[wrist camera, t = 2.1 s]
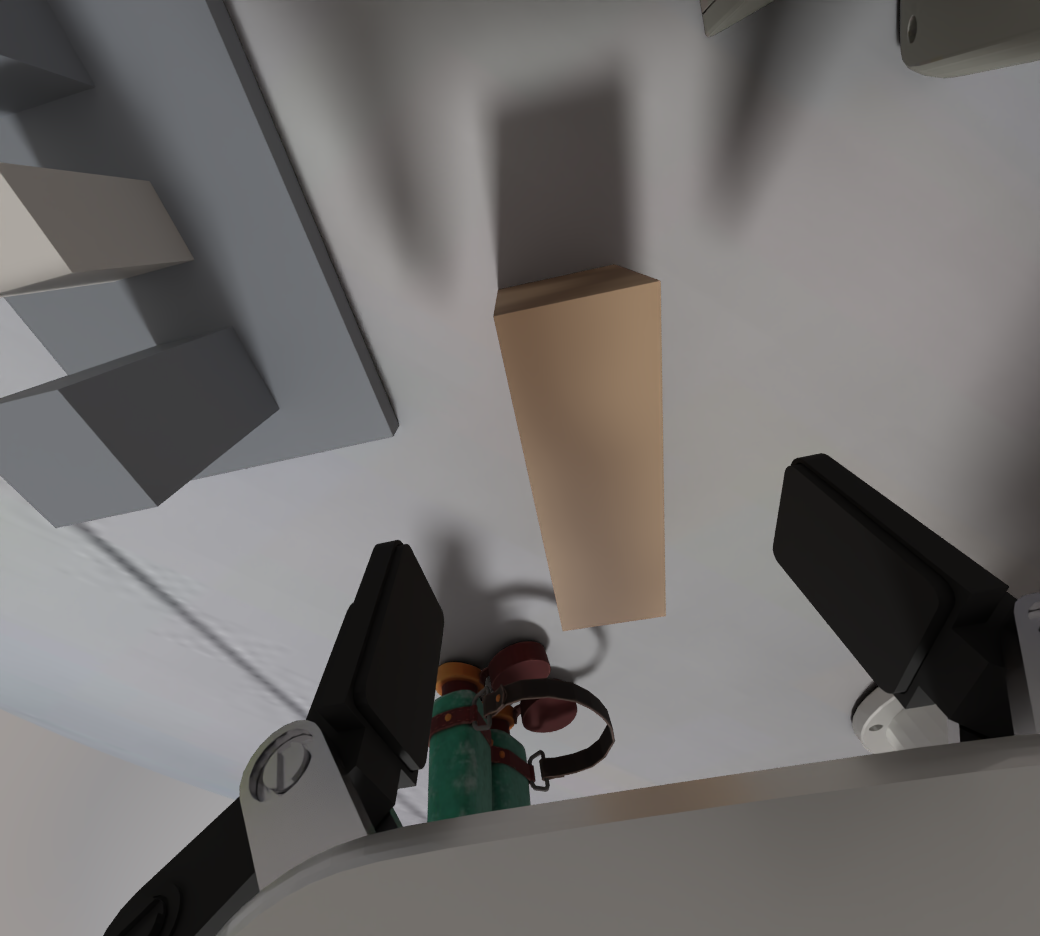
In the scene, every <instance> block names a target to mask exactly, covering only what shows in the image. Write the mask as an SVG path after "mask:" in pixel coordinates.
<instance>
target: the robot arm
mask: <svg viewBox="0 0 1040 936" xmlns="http://www.w3.org/2000/svg"><path fill="white" fill-rule="evenodd" d="M773 553H774V556H775V558H776V560H777V562H778V563H779V564H780V566H781V567H782V568H783V569H784V571H785V572H786V573H787V574H788V575H789V577H790V578H791V579H792V580H793V582H794V583H795V584H796V585H797V587H798V588H799V589H800V590H801V591H802V593H803V594H804V595H805V596H806V598H807V599H808V600H809V601H810V603H811V604H812V605H813V606H814V608H815V609H816V610H817V611H818V612H819V614H820V615H821V616H822V617H823V619H824V620H825V621H826V622H827V624H828V625H829V626H830V627H831V628H832V630H833V631H834V632H835V633H836V635H837V636H838V637H839V638H840V640H841V641H842V642H843V643H844V645H845V646H846V647H847V648H848V649H849V651H850V652H851V653H852V654H853V656H854V657H855V658H856V659H857V661H858V662H859V663H860V664H861V665H862V667H863V668H864V669H865V670H866V672H867V673H868V674H869V675H870V677H871V678H872V679H873V680H874V682H875V683H876V684H877V685H878V686H879V687H877V688H876V689H875V690H874V691H873V692H871V693H870V694H869V695H868V696H867V697H866V698H865V699H864V700H863V701H862V703H861V704H860V705H859V706H858V708H857V710H856V712H855V714H854V716H853V723H852V727H853V730H854V733H855V734H856V736H857V737H858V739H859V740H860V741H861V743H862V744H863V746H864V747H865V749H867V750H868V751H870V752H871V753H872V754H871V755H864V756H857V757H850V758H843V759H836V760H829V761H822V762H815V763H808V764H802V765H795V766H788V767H781V768H774V769H767V770H761V771H754V772H747V773H740V774H734V775H727V776H720V777H714V778H707V779H700V780H693V781H687V782H680V783H673V784H667V785H660V786H653V787H647V788H640V789H634V790H627V791H620V792H614V793H607V794H601V795H594V796H588V797H581V798H575V799H568V800H562V801H555V802H549V803H542V804H536V805H530V806H523V807H517V808H510V809H504V810H497V811H491V812H484V813H479V814H473V815H467V816H462V817H456V818H450V819H445V820H439V821H433V822H427V823H422V824H416V825H410V826H405V827H403V826H402V824H401V822H400V820H399V818H398V816H397V814H396V813H395V811H394V809H393V806H394V805H395V801H396V796H397V790H398V789H400V788H406V787H412V786H416V783H417V776H418V769H422V768H423V767H424V766H425V763H426V759H427V752H428V744H429V736H430V728H431V721H432V713H433V705H434V697H435V690H436V682H437V674H438V667H439V659H440V651H441V643H442V636H443V628H444V616H443V612H442V609H441V607H440V605H439V603H438V601H437V599H436V597H435V595H434V593H433V591H432V589H431V587H430V585H429V583H428V581H427V579H426V577H425V575H424V573H423V571H422V569H421V567H420V565H419V563H418V561H417V559H416V557H415V555H414V553H413V551H412V549H411V547H410V546H409V545H408V544H404V545H403V543H402V542H401V541H400V540H395V541H390V542H385V543H381V544H377V545H375V547H374V549H373V552H372V554H371V557H370V560H369V562H368V565H367V568H366V571H365V573H364V576H363V579H362V581H361V584H360V587H359V589H358V592H357V595H356V598H355V600H354V602H353V603H352V604H351V605H350V607H349V609H348V610H347V613H346V615H345V618H344V621H343V623H342V626H341V629H340V631H339V634H338V636H337V639H336V642H335V644H334V647H333V650H332V652H331V655H330V658H329V660H328V663H327V666H326V668H325V671H324V673H323V676H322V679H321V681H320V684H319V687H318V689H317V692H316V695H315V697H314V700H313V702H312V705H311V708H310V710H309V713H308V716H307V718H306V720H299V721H294V722H292V723H289V724H287V725H284V726H283V727H281V728H280V729H278V730H277V731H275V732H274V733H272V734H271V735H270V736H269V737H268V738H267V739H266V740H265V741H264V742H263V743H262V744H261V745H260V746H259V748H258V749H257V750H256V752H255V753H254V754H253V756H252V757H251V759H250V761H249V763H248V765H247V766H246V768H245V770H244V772H243V776H242V779H241V783H240V796H239V797H238V798H237V799H236V800H235V801H234V802H233V803H232V804H231V805H230V806H229V807H228V808H227V809H226V810H224V811H223V812H222V813H221V814H220V815H219V816H218V817H217V818H216V819H215V820H214V821H213V822H212V823H211V824H210V825H208V826H207V827H206V828H205V829H204V830H203V831H202V832H201V833H200V834H199V835H198V836H197V837H196V838H195V839H193V840H192V841H191V842H190V843H189V844H188V845H187V846H186V847H185V848H184V849H183V850H182V851H181V852H180V853H178V854H177V855H176V856H175V857H174V858H173V859H172V860H171V861H170V862H169V863H168V864H167V865H166V866H165V867H164V868H162V869H161V870H160V871H159V872H158V873H157V874H156V875H155V876H154V877H153V878H152V879H151V880H150V881H148V882H147V883H146V884H145V885H144V886H143V887H142V888H141V889H140V890H139V891H138V892H137V893H136V894H135V895H134V896H133V897H132V898H131V899H130V900H129V901H128V903H127V904H126V905H125V906H124V907H123V908H122V909H121V910H120V912H119V913H118V915H117V916H116V917H115V919H114V920H113V921H112V923H111V924H110V925H109V927H108V928H107V930H106V932H105V933H104V935H103V936H1040V593H1032V594H1029V595H1025V596H1022V597H1021V598H1020V599H1019V600H1017V599H1016V598H1015V597H1013V596H1012V595H1010V594H1009V593H1008V592H1006V591H1007V590H1008V588H1009V586H1008V585H1006V584H1005V583H1004V582H1002V581H1001V580H999V579H998V578H997V577H995V576H994V575H992V574H991V573H990V572H988V571H987V570H986V569H984V568H983V567H981V566H980V565H979V564H977V563H976V562H975V561H973V560H972V559H970V558H969V557H968V556H966V555H965V554H963V553H962V552H961V551H959V550H958V549H957V548H955V547H954V546H952V545H951V544H950V543H948V542H947V541H946V540H944V539H943V538H941V537H940V536H939V535H937V534H936V533H934V532H933V531H932V530H930V529H929V528H928V527H926V526H925V525H923V524H922V523H921V522H919V521H918V520H917V519H915V518H914V517H912V516H911V515H910V514H908V513H907V512H905V511H904V510H903V509H901V508H900V507H899V506H897V505H896V504H894V503H893V502H892V501H890V500H889V499H888V498H886V497H885V496H883V495H882V494H881V493H879V492H878V491H876V490H875V489H874V488H872V487H871V486H870V485H868V484H867V483H865V482H864V481H863V480H861V479H860V478H858V477H857V476H856V475H854V474H853V473H852V472H850V471H849V470H847V469H846V468H845V467H843V466H842V465H841V464H839V463H838V462H836V461H835V460H834V459H832V458H831V457H829V456H828V455H826V454H822V453H820V454H815V455H810V456H805V457H800V458H796V459H794V460H793V462H792V464H791V466H788V467H787V468H786V470H785V474H784V480H783V487H782V493H781V499H780V505H779V512H778V518H777V524H776V530H775V537H774V543H773Z"/></svg>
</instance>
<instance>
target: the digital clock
mask: <svg viewBox="0 0 1040 936" xmlns="http://www.w3.org/2000/svg"><path fill="white" fill-rule="evenodd" d="M772 1H774V0H700V3H701V9H702V14H703V22H704V28H705V34H706V36H707V37H711V36H713V35H715V34H717V33H719V32H721V31H723V30H724V29H726V28H728V27H730V26H731V25H733V24H735V23H736V22H738V21H740V20H742V19H743V18H745V17H747V16H748V15H750V14H752V13H754V12H755V11H757V10H759V9H760V8H762V7H764V6H766V5H767V4H769V3H771V2H772ZM900 44H901V55H902V60H903V61H904V63H905V64H906V66H907V67H908V68H909V69H911V70H913V71H915V72H917V73H920V74H922V75H925V76H931V77H939V78H954V77H959V76H965V75H970V74H975V73H980V72H985V71H990V70H995V69H999V68H1004V67H1009V66H1014V65H1019V64H1024V63H1029V62H1034V61H1039V60H1040V0H900Z"/></svg>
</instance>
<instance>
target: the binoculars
mask: <svg viewBox="0 0 1040 936" xmlns="http://www.w3.org/2000/svg"><path fill="white" fill-rule="evenodd" d="M550 671H551V667H550V664H549V661H548V658H547V654H546V651H545V648H544V646H543V645H541V644H540V643H538V642H533V641H525V642H519V643H515V644H513V645H510V646H508V647H506V648H504V649H503V650H501V651H500V652H499V653H497V654H496V655H495V656H494V657H493V659H492V660H491V661H490V663H489V666H488V667H487V668H485V669H483V670H482V671H481V670H480V669H479V668H477V667H475V666H472V665H469V664H465V663H460V662H448V663H444V664H442V665H441V666H439V668H438V674H437V682H436V691H437V692H438V693H439V695H441V697H439V698H437V699H436V700H435V701H434V705H433V713H432V721H431V728H430V736H429V744H428V746H429V748H430V750H429V785H428V820H427V822H433V821H439V820H445V819H450V818H456V817H462V816H467V815H473V814H479V813H484V812H491V811H497V810H504V809H510V808H517V807H523V806H530V794H529V784H530V785H531V787H532V788H533V789H534V790H536V791H544V792H546V791H548V790H549V786H550V785H549V780H550V779H554V778H560V777H564V775H569V774H573V773H577V772H580V771H583V770H586V769H588V768H591V767H593V766H595V765H596V764H597V763H599V762H600V761H601V760H603V759H604V758H605V757H606V755H607V754H608V752H609V750H610V749H611V747H612V745H613V744H614V742H615V739H614V733H613V727H612V724H611V721H610V718H609V714H608V711H607V709H606V708H605V706H604V705H603V704H602V703H601V701H600V700H599V699H598V698H597V697H595V696H594V695H593V694H592V693H590V692H589V691H588V690H586V689H584V688H582V687H580V686H578V685H576V684H574V683H571V682H566V681H562V680H559V679H549V678H547V677H548V675H549V674H550ZM488 676H489V677H490V682H491V687H492V690H493V691H494V692H492V693H490V689H489V688H488V687H485V681H486V678H487V677H488ZM485 692H486V695H484V697H483V702H481V700H480V699H479V697H480V696H481V695H483V694H484V693H485ZM518 701H520V704H519V705H517V706H515V707H514V708H513V707H512V706H510V704H512V703H515V702H518ZM576 703H578V704H580V705H582V706H585V707H587V708H589V709H591V710H592V711H594V712H595V713H596V714H598V715H599V716H600V717H602V718H603V720H604V721H605V722H606V723H607V726H606V728H605V729H604V731H603V733H602V735H601V736H600V738H599V740H597V741H596V742H595V743H594V744H592V745H591V746H590V747H589V748H587V749H584V750H581V751H579V752H576V753H573V754H569V755H565V756H560V757H555V758H545V754H544V752H543V751H542V750H539V751H538V752H536V753H535V754H533V755H532V756H530V758H529V760H528V764H527V760H526V753H525V749H524V747H523V745H522V744H521V743H519V742H518V741H517V740H516V739H515V738H513V737H512V736H511V735H510V729H511V728H512V727H513V726H514V724H517V717H518V716H519V715H520V714H521V717H522V723H523V726H524V727H525V728H526V729H527V730H530V731H532V732H541V733H545V732H552V731H557V730H559V729H562V728H564V727H566V726H567V725H568V724H570V723H571V722H572V721H573V719H574V718H575V716H576V713H577V705H576ZM539 755H541V757H542V759H541V760H540V761H539V763H540V770H541V777H542V780H543V781H545V784H546V786H545V787H541V786H536V785H535V784H534V782H535V773H534V766H533V765H532V760H533V759H534V758H536V757H537V756H539Z"/></svg>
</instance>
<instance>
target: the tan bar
mask: <svg viewBox="0 0 1040 936" xmlns="http://www.w3.org/2000/svg"><path fill="white" fill-rule="evenodd" d="M493 317H494V321H495V326H496V330H497V335H498V339H499V344H500V348H501V353H502V357H503V362H504V367H505V371H506V376H507V380H508V385H509V389H510V394H511V398H512V403H513V407H514V412H515V416H516V421H517V425H518V430H519V435H520V439H521V444H522V448H523V453H524V457H525V462H526V466H527V471H528V475H529V480H530V484H531V489H532V493H533V498H534V503H535V507H536V512H537V516H538V521H539V525H540V530H541V534H542V539H543V543H544V548H545V552H546V557H547V561H548V566H549V571H550V575H551V580H552V584H553V589H554V593H555V598H556V602H557V607H558V611H559V616H560V620H561V625H562V629H563V631H568V630H574V629H581V628H588V627H595V626H601V625H608V624H615V623H622V622H629V621H635V620H642V619H649V618H656V617H663V616H666V603H665V539H664V475H663V411H662V347H661V283H660V280H657V279H654V278H651V277H649V276H646V275H643V274H640V273H637V272H635V271H632V270H629V269H626V268H623V267H621V266H618V265H615V264H613V265H609V266H604V267H599V268H595V269H590V270H586V271H581V272H577V273H572V274H567V275H563V276H558V277H554V278H549V279H545V280H540V281H535V282H531V283H526V284H522V285H517V286H513V287H508V288H503V289H499V290H498V293H497V299H496V304H495V310H494V316H493Z"/></svg>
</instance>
